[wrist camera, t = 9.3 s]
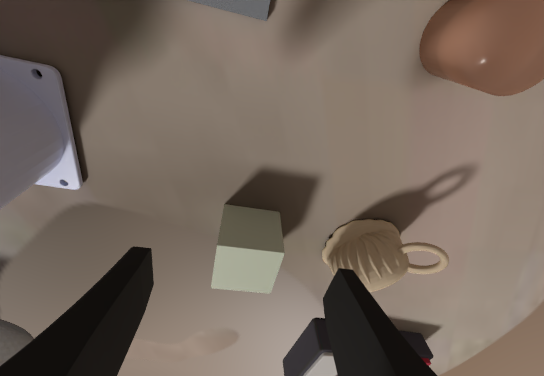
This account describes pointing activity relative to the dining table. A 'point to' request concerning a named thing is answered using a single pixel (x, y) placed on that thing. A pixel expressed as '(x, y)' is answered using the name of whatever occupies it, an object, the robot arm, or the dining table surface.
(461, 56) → the terracotta cylinder
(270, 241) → the sage block
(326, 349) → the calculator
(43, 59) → the dining table surface
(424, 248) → the cream ribbed piece
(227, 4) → the slate mat
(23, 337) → the cereal bowl
